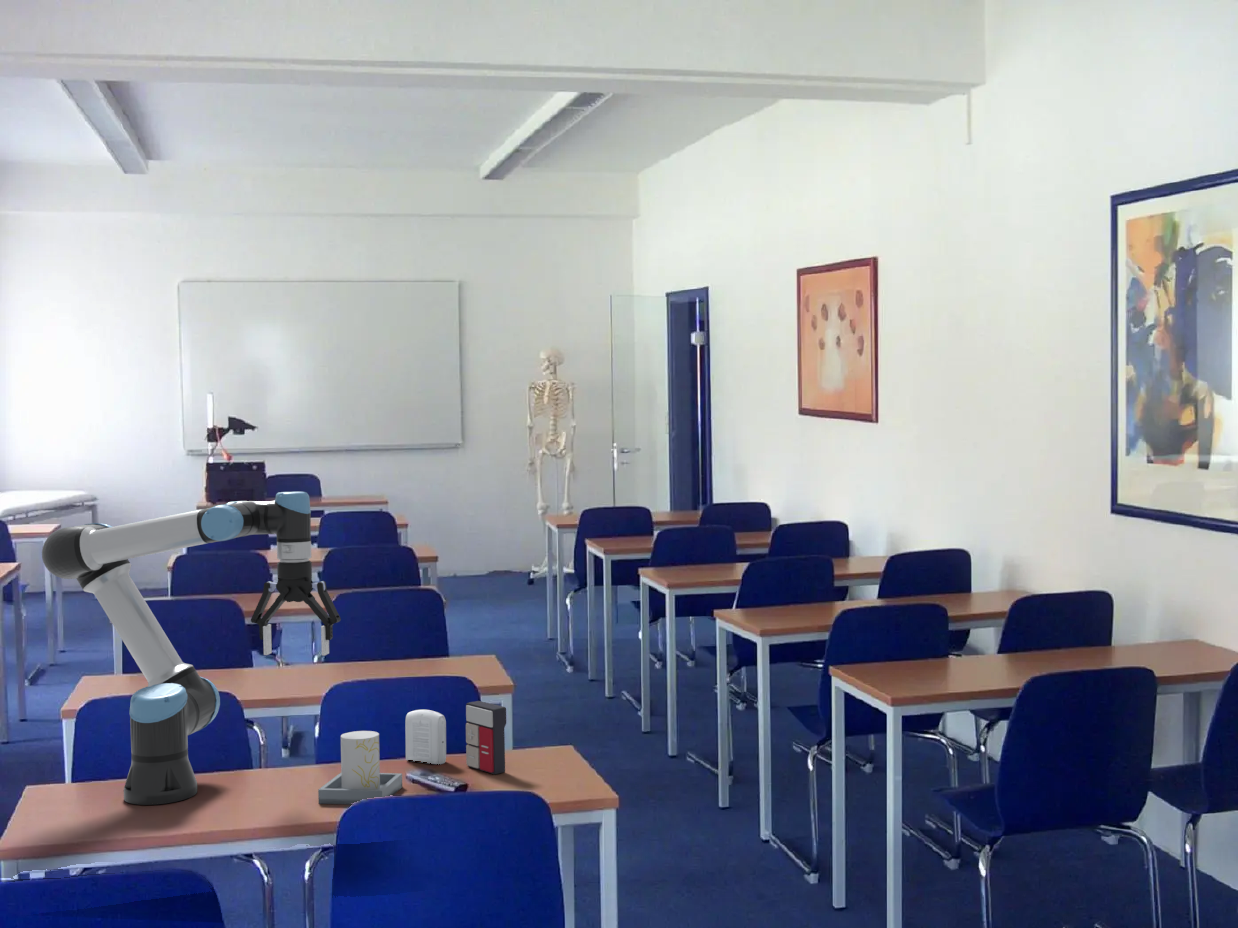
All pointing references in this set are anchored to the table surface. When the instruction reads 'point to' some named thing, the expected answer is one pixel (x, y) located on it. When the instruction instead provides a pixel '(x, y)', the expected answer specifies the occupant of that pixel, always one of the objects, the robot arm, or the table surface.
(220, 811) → the table surface
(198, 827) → the table surface
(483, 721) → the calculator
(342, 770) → the cup
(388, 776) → the tray
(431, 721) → the white rounded block
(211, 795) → the table surface
